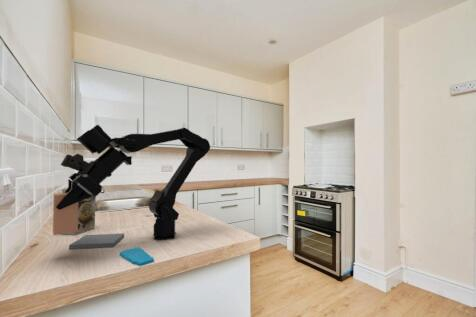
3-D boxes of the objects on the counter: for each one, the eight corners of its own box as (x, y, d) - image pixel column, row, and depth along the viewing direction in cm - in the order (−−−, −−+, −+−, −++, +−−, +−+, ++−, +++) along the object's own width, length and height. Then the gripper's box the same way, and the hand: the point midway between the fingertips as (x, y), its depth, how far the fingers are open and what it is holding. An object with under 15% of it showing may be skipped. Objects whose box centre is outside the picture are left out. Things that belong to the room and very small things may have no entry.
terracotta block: (75, 227, 65) (76, 192, 65) (77, 231, 61) (78, 193, 61) (52, 230, 61) (53, 193, 62) (53, 235, 58) (54, 195, 58)
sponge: (130, 266, 54) (155, 257, 58) (117, 251, 63) (139, 244, 67) (131, 272, 54) (155, 263, 58) (118, 257, 63) (140, 249, 67)
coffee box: (74, 235, 80) (76, 189, 81) (59, 234, 81) (61, 188, 82) (95, 228, 89) (96, 187, 90) (81, 227, 90) (82, 186, 91)
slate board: (124, 236, 79) (124, 233, 79) (113, 246, 69) (113, 242, 69) (85, 238, 77) (85, 234, 77) (69, 249, 67) (69, 245, 67)
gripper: (78, 147, 71) (29, 184, 64) (87, 142, 57) (26, 189, 49) (106, 171, 76) (64, 209, 68) (121, 173, 62) (70, 220, 54)
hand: (56, 207), depth 60 cm, fingers closed on terracotta block, 5 cm apart
